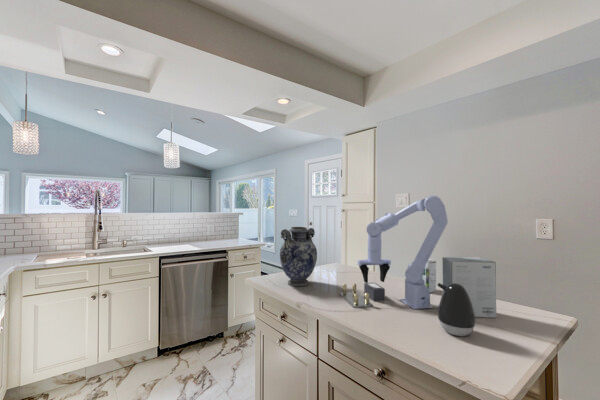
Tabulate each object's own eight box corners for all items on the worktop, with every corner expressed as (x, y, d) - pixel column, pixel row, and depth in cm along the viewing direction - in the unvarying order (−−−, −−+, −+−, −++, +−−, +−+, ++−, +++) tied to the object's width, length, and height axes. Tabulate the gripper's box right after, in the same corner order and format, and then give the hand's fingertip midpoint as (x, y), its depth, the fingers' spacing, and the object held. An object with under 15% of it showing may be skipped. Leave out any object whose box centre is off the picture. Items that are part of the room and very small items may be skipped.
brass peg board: (373, 306, 105) (373, 294, 105) (353, 308, 104) (353, 296, 104) (356, 293, 121) (356, 282, 121) (339, 294, 119) (339, 283, 119)
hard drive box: (484, 310, 103) (484, 257, 103) (497, 318, 95) (497, 261, 95) (441, 308, 104) (442, 256, 105) (451, 316, 97) (451, 260, 97)
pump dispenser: (441, 321, 92) (441, 277, 92) (477, 331, 86) (477, 283, 86) (433, 332, 84) (433, 283, 84) (472, 344, 78) (472, 291, 78)
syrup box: (417, 289, 127) (417, 258, 127) (426, 287, 130) (426, 257, 130) (427, 293, 122) (427, 260, 122) (436, 291, 124) (436, 259, 125)
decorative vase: (302, 275, 149) (303, 224, 149) (326, 284, 135) (327, 227, 135) (269, 282, 136) (270, 227, 135) (292, 293, 121) (293, 230, 121)
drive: (384, 300, 112) (384, 288, 112) (373, 301, 111) (373, 289, 111) (374, 293, 121) (374, 282, 121) (364, 294, 120) (364, 282, 120)
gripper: (385, 248, 122) (384, 278, 122) (354, 248, 119) (354, 279, 119) (393, 251, 115) (393, 283, 115) (361, 251, 112) (361, 284, 112)
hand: (374, 281), depth 116 cm, fingers open, 7 cm apart
